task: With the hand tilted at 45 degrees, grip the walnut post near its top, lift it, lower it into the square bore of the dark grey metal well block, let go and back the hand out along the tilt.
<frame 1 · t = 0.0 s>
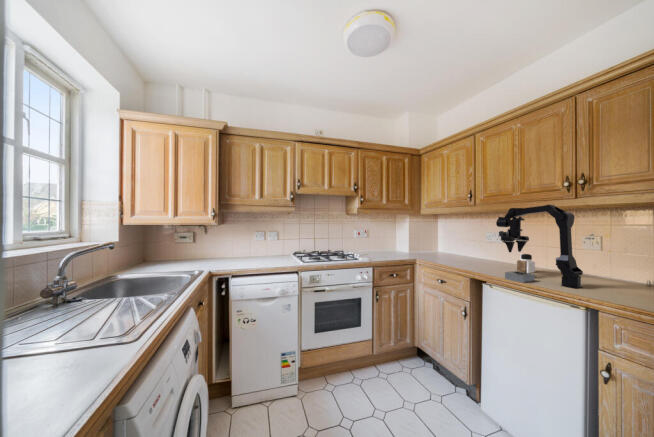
hand: (514, 252, 159), 15 cm above the worktop, tool pointing down, fingers open, 9 cm apart
well block: (519, 280, 146), on the worktop
walnut post: (521, 277, 153), on the worktop
medicine bottle: (525, 272, 169), on the worktop
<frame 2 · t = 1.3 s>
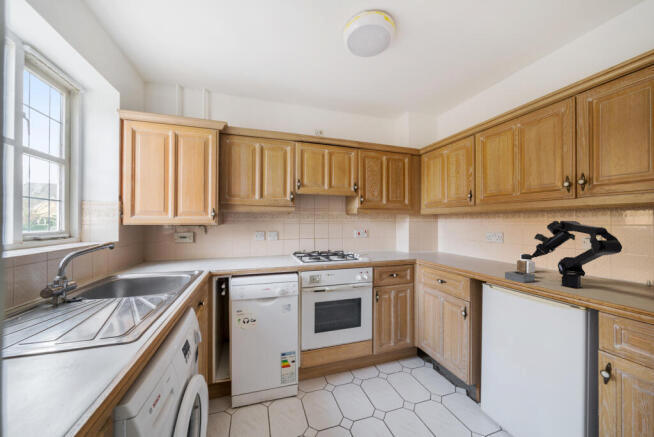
hand: (533, 256, 149), 13 cm above the worktop, tool tilted 45°, fingers open, 9 cm apart
nothing on the worktop moved.
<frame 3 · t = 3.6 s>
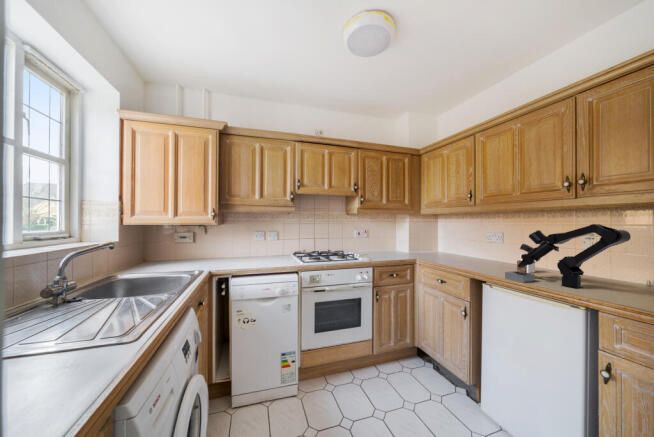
hand: (519, 266, 155), 7 cm above the worktop, tool tilted 45°, fingers closed on walnut post, 4 cm apart
walnut post: (521, 277, 153), on the worktop, touching gripper
everything else where it was.
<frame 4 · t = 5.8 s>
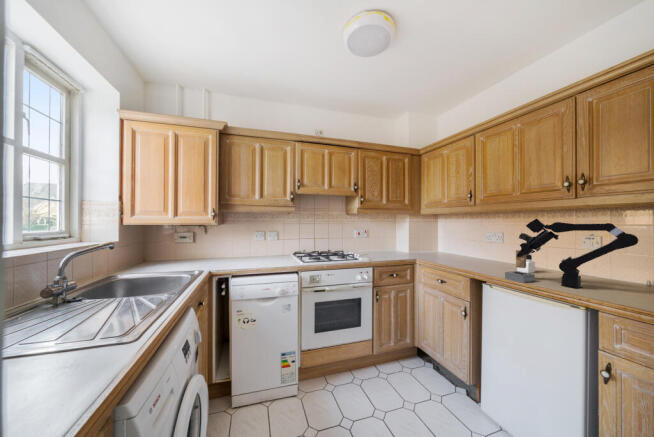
hand: (518, 256, 151), 13 cm above the worktop, tool tilted 45°, fingers closed on walnut post, 4 cm apart
walnut post: (520, 267, 150), point 7 cm above the worktop, touching gripper
everything else where it was.
when the fingers open (8 cm above the worktop, at t = 7.8 s): walnut post drops 1 cm, resting in well block.
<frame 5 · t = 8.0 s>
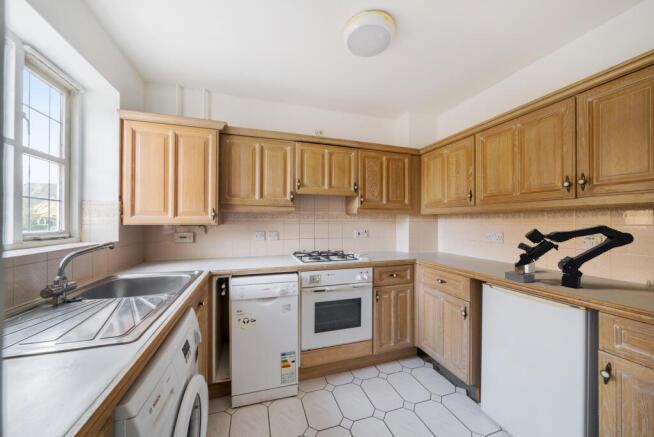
hand: (516, 265, 147), 8 cm above the worktop, tool tilted 45°, fingers open, 6 cm apart
walnut post: (519, 280, 146), resting in well block
everything else where it was.
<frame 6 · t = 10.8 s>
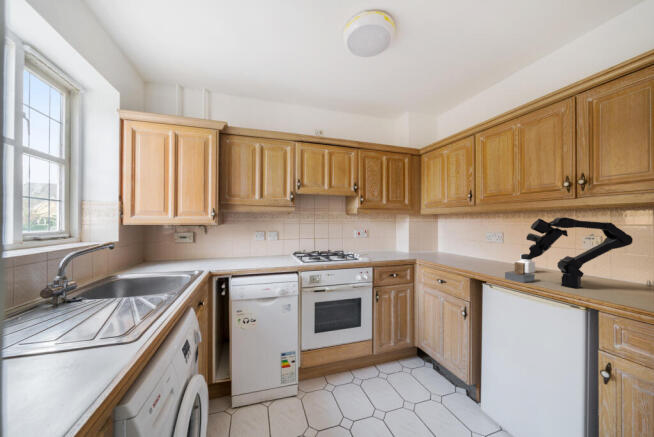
hand: (529, 257, 145), 13 cm above the worktop, tool tilted 40°, fingers open, 9 cm apart
nothing on the worktop moved.
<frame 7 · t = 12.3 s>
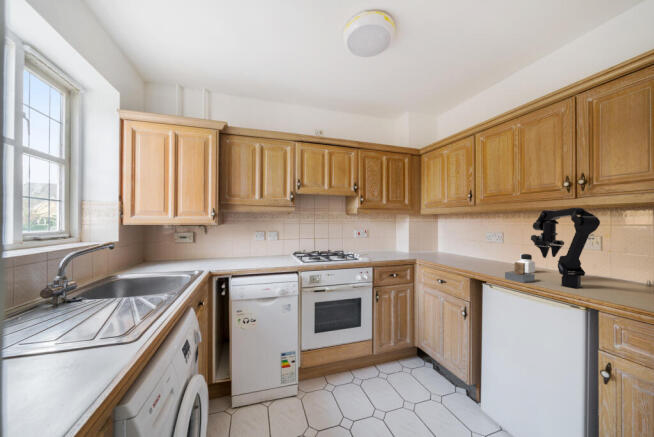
hand: (549, 257, 149), 13 cm above the worktop, tool pointing down, fingers open, 9 cm apart
nothing on the worktop moved.
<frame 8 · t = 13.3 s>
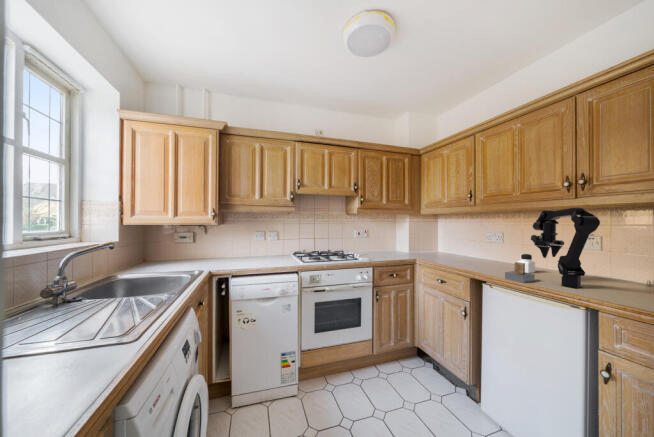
hand: (549, 257, 149), 13 cm above the worktop, tool pointing down, fingers open, 9 cm apart
nothing on the worktop moved.
at the end: walnut post 0.0 cm off-centre on the well block, point 0.0 cm above the well block's base; walnut post tilted 0°; the gripper is holding nothing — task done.
